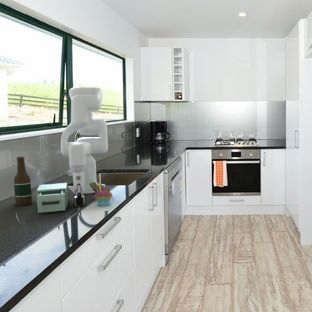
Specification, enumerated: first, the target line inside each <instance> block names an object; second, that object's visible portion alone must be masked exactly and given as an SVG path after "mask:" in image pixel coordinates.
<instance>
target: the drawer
mask: <svg viewBox="0 0 312 312" xmlns="http://www.w3.org/2000/svg"><path fill="white" fill-rule="evenodd" d="M36 207H37V213H38V214H41V213H50V212H51V213H52V212H59V211H60V212H62V211H66V210H67V209H66V208H65V193H64V190H56V191H43V192H40V194H39V195H38V196H37V195H36Z"/></svg>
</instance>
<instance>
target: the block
mask: <svg viewBox="0 0 312 312" xmlns="http://www.w3.org/2000/svg"><path fill="white" fill-rule="evenodd" d="M82 197H83V206H82V207H85V206H86V202H85V194H83V195H82ZM74 207H77V206H76V195H74Z"/></svg>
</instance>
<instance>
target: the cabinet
mask: <svg viewBox="0 0 312 312" xmlns="http://www.w3.org/2000/svg"><path fill="white" fill-rule="evenodd" d="M56 190H64V193H65V209H66V208H68V205H69V204H68V203H69V197H68V183H67V182H61V183H59V182H58V183H46V184H45V183H44V184H39V185H38V188H37V189H36V197H37V196H38V195H39V194H40V192H43V191H56Z"/></svg>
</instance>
